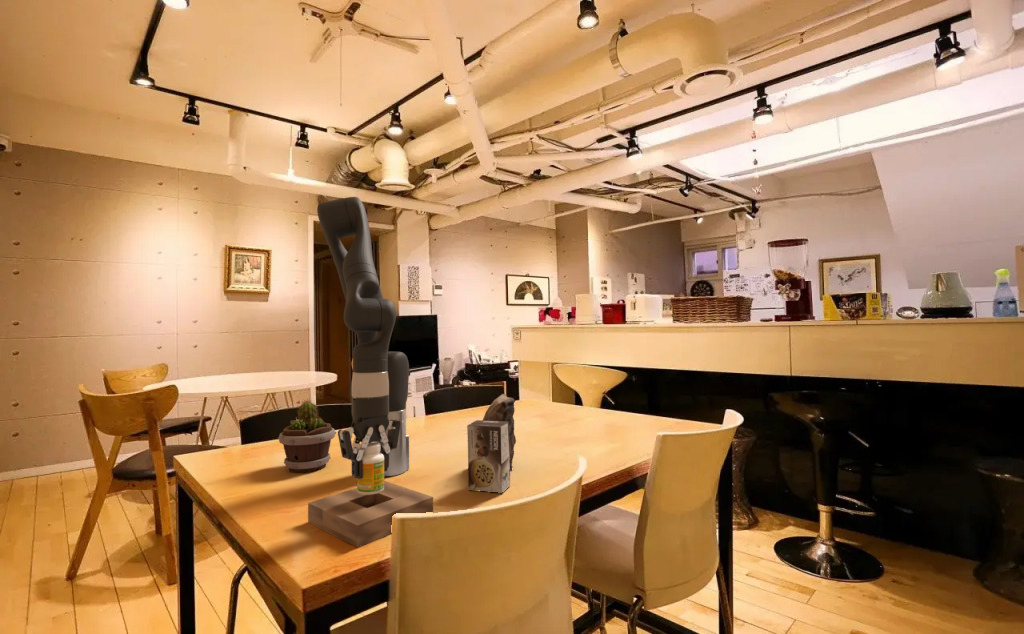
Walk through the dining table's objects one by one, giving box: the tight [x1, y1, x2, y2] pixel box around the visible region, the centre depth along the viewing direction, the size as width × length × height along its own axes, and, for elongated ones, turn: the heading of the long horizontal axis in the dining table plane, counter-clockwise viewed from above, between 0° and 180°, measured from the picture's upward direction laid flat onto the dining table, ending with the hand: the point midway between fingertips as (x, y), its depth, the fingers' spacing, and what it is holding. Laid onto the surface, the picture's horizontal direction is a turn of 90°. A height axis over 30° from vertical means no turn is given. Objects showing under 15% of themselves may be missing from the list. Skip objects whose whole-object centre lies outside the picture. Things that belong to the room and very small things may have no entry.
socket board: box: [307, 480, 434, 548], centre depth 98 cm, size 18×18×4 cm
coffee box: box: [466, 419, 511, 494], centre depth 116 cm, size 9×6×16 cm
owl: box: [482, 393, 517, 472], centre depth 133 cm, size 13×13×20 cm
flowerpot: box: [277, 398, 337, 473], centre depth 135 cm, size 14×15×20 cm
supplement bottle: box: [356, 442, 385, 495], centre depth 98 cm, size 5×5×10 cm
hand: (370, 474), depth 98 cm, fingers closed on supplement bottle, 5 cm apart
